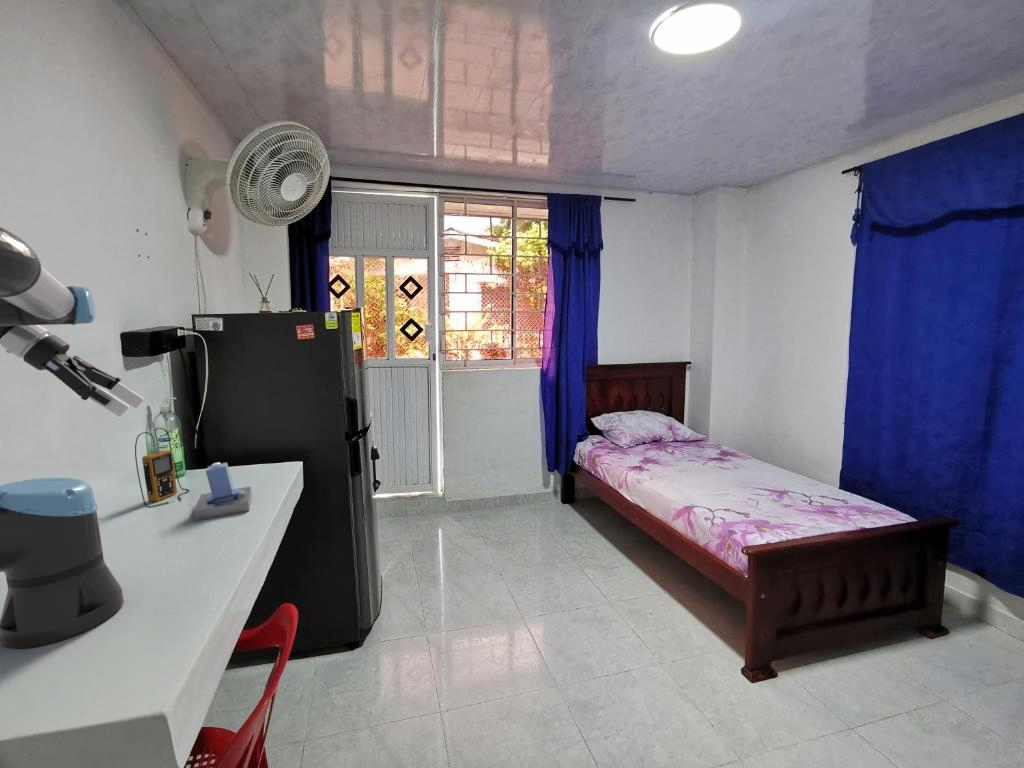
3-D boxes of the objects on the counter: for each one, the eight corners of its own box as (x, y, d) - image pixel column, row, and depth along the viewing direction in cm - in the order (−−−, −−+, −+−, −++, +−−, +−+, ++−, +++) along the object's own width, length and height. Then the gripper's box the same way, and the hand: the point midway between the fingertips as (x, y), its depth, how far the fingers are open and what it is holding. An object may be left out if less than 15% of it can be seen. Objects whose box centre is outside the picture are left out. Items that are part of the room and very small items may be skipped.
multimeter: (168, 507, 133) (158, 435, 131) (136, 507, 135) (125, 435, 133) (209, 489, 148) (201, 423, 145) (179, 489, 149) (171, 424, 147)
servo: (242, 504, 132) (231, 461, 130) (209, 512, 129) (198, 469, 127) (243, 498, 136) (232, 457, 134) (211, 507, 133) (200, 465, 131)
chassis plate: (249, 510, 128) (247, 498, 128) (194, 520, 123) (193, 507, 123) (251, 495, 141) (250, 483, 140) (202, 503, 136) (200, 491, 135)
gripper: (47, 357, 116) (134, 412, 125) (-8, 362, 94) (103, 429, 102) (72, 333, 118) (157, 389, 126) (24, 333, 96) (131, 401, 104)
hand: (133, 407), depth 114 cm, fingers open, 13 cm apart
